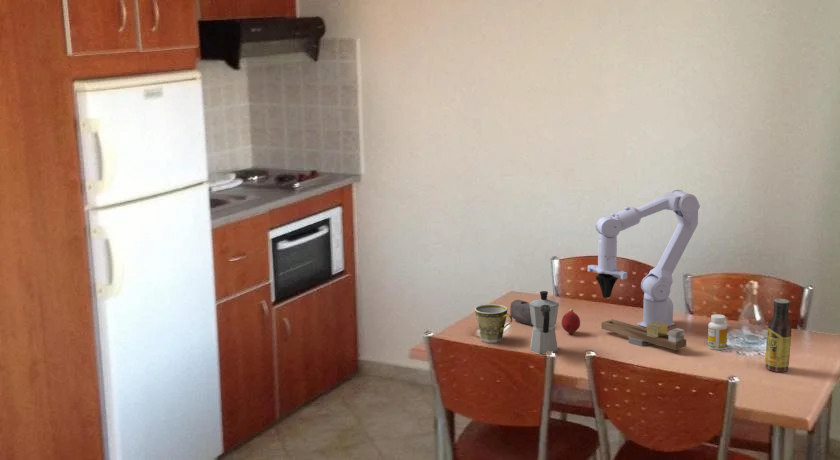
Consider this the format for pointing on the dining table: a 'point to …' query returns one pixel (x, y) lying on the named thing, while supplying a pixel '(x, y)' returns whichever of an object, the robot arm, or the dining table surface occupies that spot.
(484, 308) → the ceramic cup
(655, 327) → the block
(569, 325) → the onion
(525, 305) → the perforated stone tool
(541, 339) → the coffee maker
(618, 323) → the beam
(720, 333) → the supplement bottle
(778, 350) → the sauce bottle
